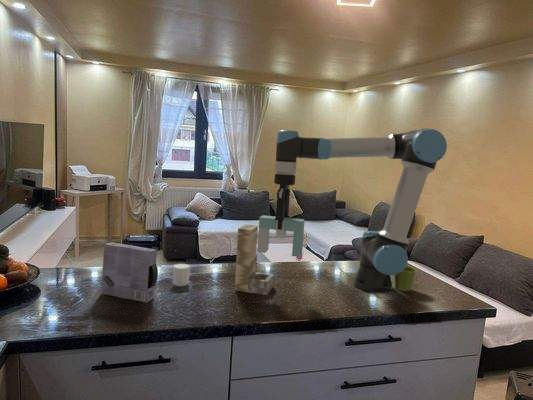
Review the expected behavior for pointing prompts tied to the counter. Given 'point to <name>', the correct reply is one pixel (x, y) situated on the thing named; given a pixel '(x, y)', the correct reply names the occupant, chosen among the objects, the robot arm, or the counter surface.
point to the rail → (289, 225)
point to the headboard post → (250, 264)
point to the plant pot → (405, 279)
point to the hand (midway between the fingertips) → (281, 236)
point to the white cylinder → (181, 274)
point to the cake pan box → (129, 272)
